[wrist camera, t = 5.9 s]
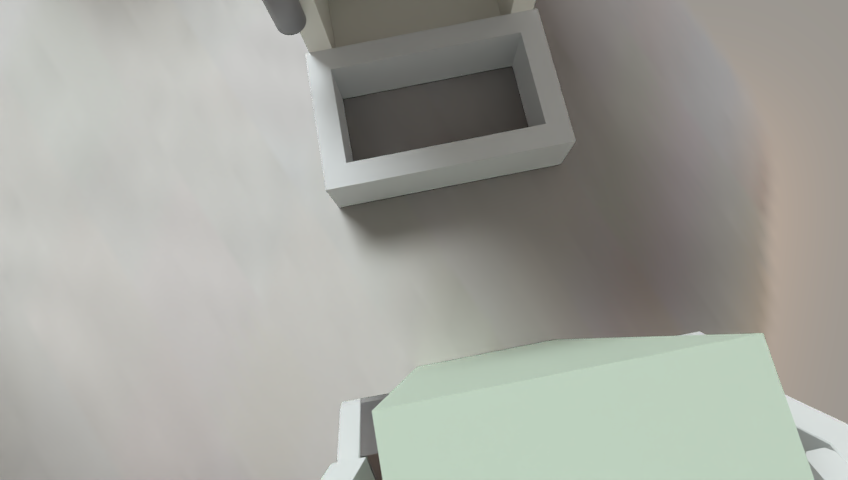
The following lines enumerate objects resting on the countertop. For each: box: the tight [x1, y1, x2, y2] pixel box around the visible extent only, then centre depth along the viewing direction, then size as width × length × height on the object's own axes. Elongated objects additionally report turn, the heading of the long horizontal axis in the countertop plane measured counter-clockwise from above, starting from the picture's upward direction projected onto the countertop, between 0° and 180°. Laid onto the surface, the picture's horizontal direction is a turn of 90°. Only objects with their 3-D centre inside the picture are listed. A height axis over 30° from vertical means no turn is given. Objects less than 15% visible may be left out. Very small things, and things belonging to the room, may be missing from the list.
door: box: [372, 333, 814, 480], centre depth 13 cm, size 6×3×13 cm, turn 101°
